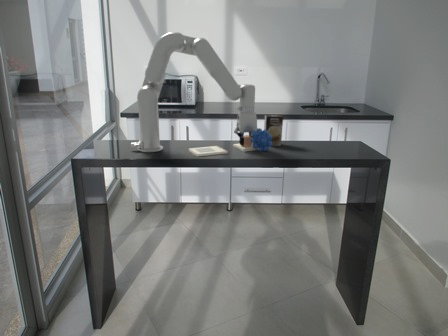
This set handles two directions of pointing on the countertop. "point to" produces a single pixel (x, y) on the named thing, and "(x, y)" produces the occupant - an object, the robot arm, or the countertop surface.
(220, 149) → the cream panel with window
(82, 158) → the countertop surface
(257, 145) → the grapes
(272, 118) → the coffee box
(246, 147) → the stub
